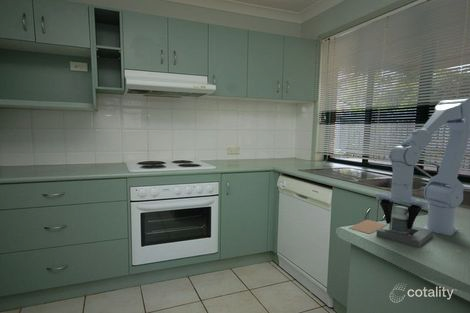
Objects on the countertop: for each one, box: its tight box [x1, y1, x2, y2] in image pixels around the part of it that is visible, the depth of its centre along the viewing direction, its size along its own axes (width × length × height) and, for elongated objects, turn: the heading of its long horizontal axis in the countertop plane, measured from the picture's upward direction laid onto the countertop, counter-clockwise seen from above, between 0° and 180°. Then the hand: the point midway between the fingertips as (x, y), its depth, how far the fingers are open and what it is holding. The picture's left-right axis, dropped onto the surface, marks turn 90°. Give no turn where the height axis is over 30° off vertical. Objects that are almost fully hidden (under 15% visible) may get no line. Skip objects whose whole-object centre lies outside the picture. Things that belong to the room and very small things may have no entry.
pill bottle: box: [389, 205, 410, 236], centre depth 92 cm, size 5×5×9 cm
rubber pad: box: [349, 219, 388, 235], centre depth 100 cm, size 14×7×1 cm, turn 132°
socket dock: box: [376, 223, 434, 248], centre depth 91 cm, size 14×12×2 cm
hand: (398, 225), depth 92 cm, fingers open, 6 cm apart
